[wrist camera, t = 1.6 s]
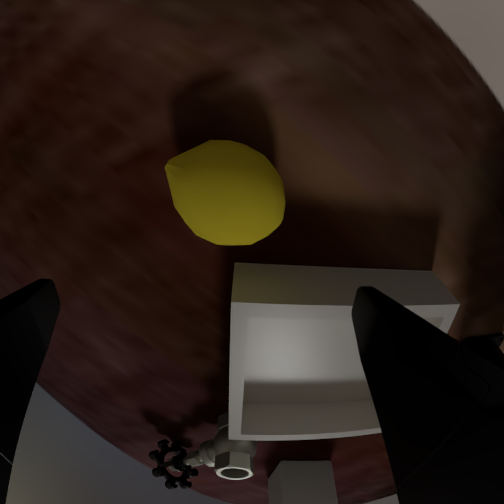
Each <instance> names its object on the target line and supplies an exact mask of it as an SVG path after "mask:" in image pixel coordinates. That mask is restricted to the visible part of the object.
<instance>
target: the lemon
mask: <svg viewBox="0 0 504 504" xmlns="http://www.w3.org/2000/svg"><path fill="white" fill-rule="evenodd" d="M165 170H166V174H167V178H168V182H169V186H170V190H171V194H172V198H173V203H174V207H175V208H176V210H177V211H178V212H179V214H180V215H181V217H182V218H183V220H184V221H185V223H186V224H187V225H188V226H189V227H190V228H191V230H192V231H193V232H194V233H195V234H196V235H197V236H199V237H201V238H204V239H206V240H208V241H210V242H212V243H214V244H217V245H251V244H253V243H255V242H257V241H259V240H261V239H263V238H265V237H266V236H268V235H269V234H271V233H272V232H273V231H274V230H275V229H276V228H277V227H279V225H280V224H281V223H282V220H283V217H284V210H285V194H284V184H283V182H282V180H281V178H280V175H279V174H278V172H277V171H276V170H275V168H274V166H273V165H272V164H271V162H270V161H269V160H268V159H267V158H266V156H265V155H263V154H261V153H259V152H258V151H256V150H254V149H252V148H250V147H249V146H247V145H245V144H241V143H238V142H234V141H231V140H209V141H207V142H205V143H203V144H201V145H199V146H197V147H195V148H193V149H190V150H188V151H186V152H184V153H182V154H180V155H178V156H176V157H174V158H172V159H170V160H168V162H167V163H166V166H165Z"/></svg>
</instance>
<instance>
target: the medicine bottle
mask: <svg viewBox="0 0 504 504" xmlns="http://www.w3.org/2000/svg"><path fill="white" fill-rule="evenodd" d="M268 490H269V504H338V500H337V494H336V488H335V482H334V475H333V469H332V463H331V461H329V460H324V461H287V460H282V461H280V463H279V464H278V466H277V467H276V469H275V470H274V471H273V473H272V474H271V476H270V477H269V479H268Z"/></svg>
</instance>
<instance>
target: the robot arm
mask: <svg viewBox="0 0 504 504" xmlns="http://www.w3.org/2000/svg"><path fill="white" fill-rule="evenodd" d="M59 310H60V300H59V297H58V294H57V291H56V288H55V284H54V282H53V281H52V280H51V279H39V280H37V281H35V282H33V283H31V284H29V285H27V286H25V287H23V288H21V289H19V290H17V291H16V292H14V293H12V294H10V295H8V296H6V297H4V298H2V299H1V300H0V504H5V503H6V497H7V491H8V485H9V480H10V475H11V470H12V464H13V460H14V455H15V451H16V446H17V443H18V439H19V435H20V431H21V428H22V424H23V421H24V417H25V414H26V411H27V407H28V404H29V401H30V398H31V395H32V391H33V388H34V386H35V383H36V380H37V377H38V374H39V371H40V369H41V366H42V363H43V361H44V358H45V355H46V352H47V350H48V347H49V343H50V340H51V336H52V333H53V330H54V326H55V323H56V320H57V317H58V314H59ZM351 316H352V321H353V326H354V331H355V336H356V341H357V346H358V351H359V356H360V360H361V364H362V367H363V371H364V374H365V377H366V380H367V384H368V387H369V390H370V393H371V397H372V400H373V404H374V407H375V410H376V414H377V417H378V421H379V424H380V428H381V432H382V435H383V439H384V443H385V446H386V450H387V454H388V458H389V462H390V466H391V470H392V474H393V478H394V482H395V486H396V489H397V490H396V491H397V496H398V500H399V504H504V354H503V352H502V351H501V350H500V348H499V347H500V345H501V344H502V342H503V340H504V335H503V333H500V334H494V335H486V336H479V337H471V338H466V339H465V340H464V341H463V343H462V344H460V343H459V342H458V341H457V340H455V339H454V338H452V337H451V336H449V335H448V334H446V333H445V332H443V331H442V330H440V329H439V328H437V327H436V326H434V325H432V324H431V323H429V322H428V321H426V320H425V319H423V318H422V317H420V316H419V315H417V314H415V313H414V312H412V311H411V310H409V309H408V308H406V307H404V306H403V305H401V304H400V303H398V302H397V301H395V300H393V299H392V298H390V297H389V296H387V295H385V294H384V293H382V292H381V291H379V290H377V289H376V288H374V287H373V286H360V287H359V288H358V289H357V291H356V295H355V299H354V303H353V307H352V312H351Z"/></svg>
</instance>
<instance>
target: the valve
mask: <svg viewBox="0 0 504 504" xmlns="http://www.w3.org/2000/svg"><path fill="white" fill-rule="evenodd" d="M217 429H218V431H219V432H218V433H217V434H216V436H215V439H214V440H213V439H211V440H208V441H205V442H203V443H201V445H200V446H199V450H195V451H192V452H189V453H186V450H185V449H183V448H182V447H183V443H182V442H180V441H176V442H173V443H172V445H171V446H172V447H168V445H167V443H169V441H168V440H166V439H164V440H161V441H159V442H158V447H159V448H160V449H161V451H160V453H158V452H159V450H154V451H151V452H150V453H149V457H150V458H151V459H152V460H155V461H157V464H158V467H157V468H154V469H153V470H152V474H153V475H154V476H155V477H161V476H164V477H165V478H166V479H167V481H166V482H165V486H166V487H167V488H168V489H174V488H177V486H178V485H176V484H175V483H176V482H179V485H180V487H181V488H183V489H185V488H190V487H191V486H192V483H191V482H188V481H187V480H186V479H188V478H190V477H195V476H197V475H198V471H197V469H196V468H194V469H191V467H192V466H198V465H202V464H206V465H208V466H210V467H214V470H215V472H216V474H217V475H218V476H220V477H222V478H226V479H232V480H240V479H246V478H249V477H251V476H253V475H254V461H253V459H252V458H253V457H254V455H255V453H256V449H257V442H256V440H230V439H229V412H227V413H225V414H222V415H220V416H218V425H217ZM168 452H172V453H174V454H176V455H177V456H174V457H172V458H171V459H168V462H165V463H164V457H165V455H166V454H167V453H168ZM165 467H169V468H170V469H171V470H172V471H183V474H182V475H181V476H180V477H174V476H172V475H171V474H170V473H169V472H168V471H167V470H166V468H165Z"/></svg>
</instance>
